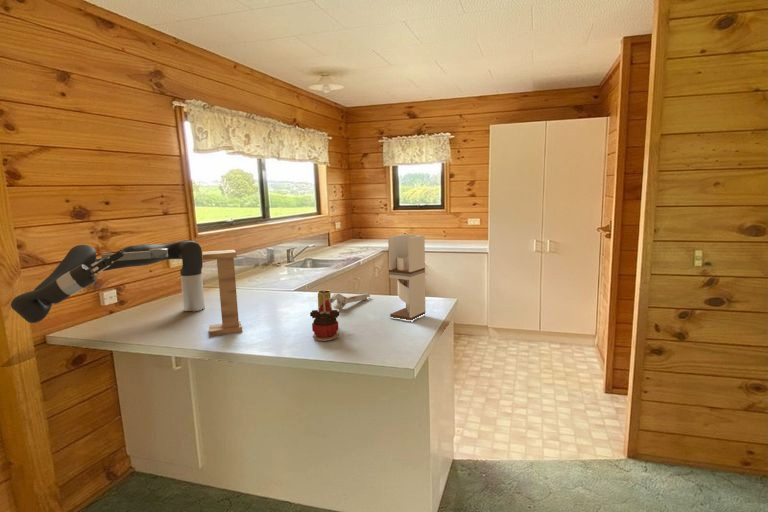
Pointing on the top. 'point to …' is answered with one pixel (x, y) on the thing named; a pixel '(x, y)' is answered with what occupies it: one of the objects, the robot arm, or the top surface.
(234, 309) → the shelf stand
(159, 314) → the top surface
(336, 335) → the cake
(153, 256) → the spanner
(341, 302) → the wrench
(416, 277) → the beige cubby tower
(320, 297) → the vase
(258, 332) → the top surface
